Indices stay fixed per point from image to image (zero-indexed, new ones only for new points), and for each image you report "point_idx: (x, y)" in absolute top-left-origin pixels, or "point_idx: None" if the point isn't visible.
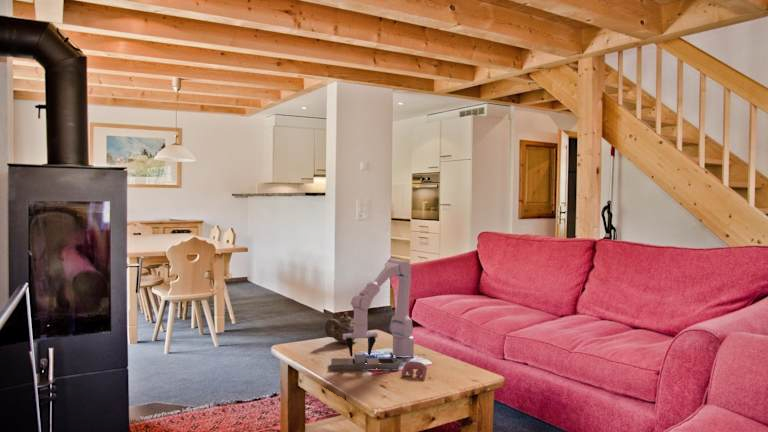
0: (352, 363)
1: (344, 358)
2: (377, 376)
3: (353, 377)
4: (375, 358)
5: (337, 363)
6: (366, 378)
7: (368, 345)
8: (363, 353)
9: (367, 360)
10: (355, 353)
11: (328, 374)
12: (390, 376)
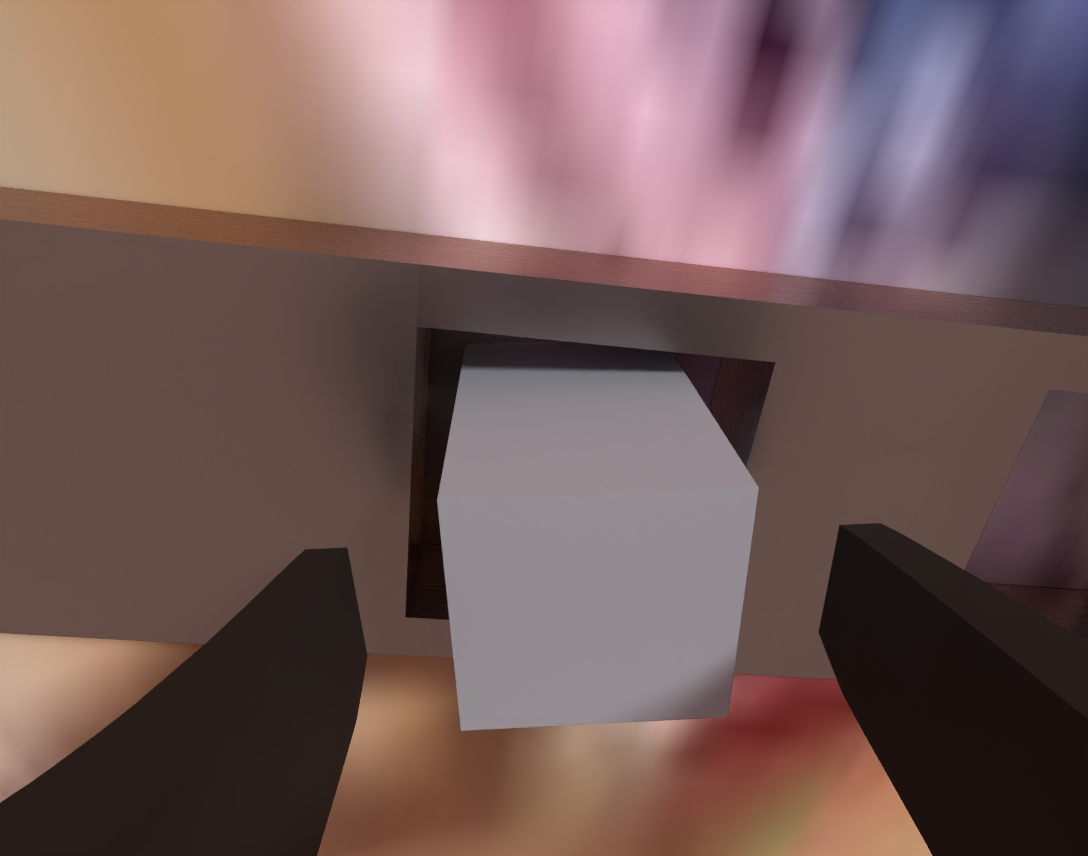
0: (394, 601)
1: (188, 246)
2: (736, 794)
3: (405, 800)
4: (999, 354)
5: (57, 574)
6: (575, 835)
7: (1023, 753)
8: (692, 654)
9: (759, 465)
10: (454, 634)
11: (9, 687)
12: (901, 804)
